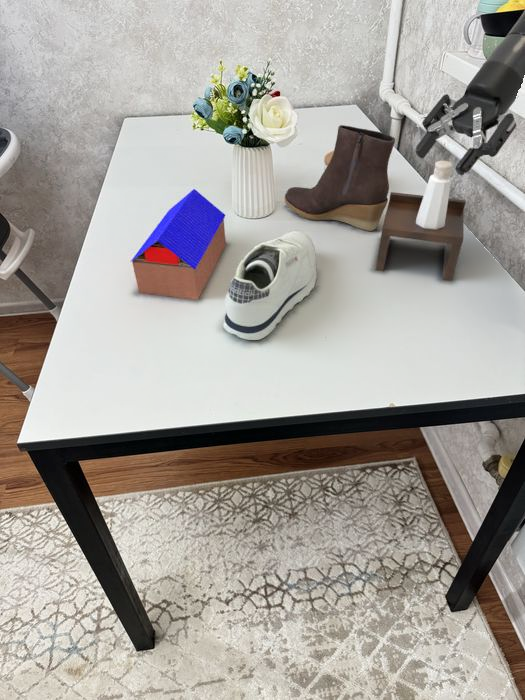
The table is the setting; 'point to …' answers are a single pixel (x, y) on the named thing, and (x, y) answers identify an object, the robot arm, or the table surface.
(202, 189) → the table surface
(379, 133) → the boot
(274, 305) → the running shoe
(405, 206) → the shelf
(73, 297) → the table surface
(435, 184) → the salt shaker
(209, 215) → the house
